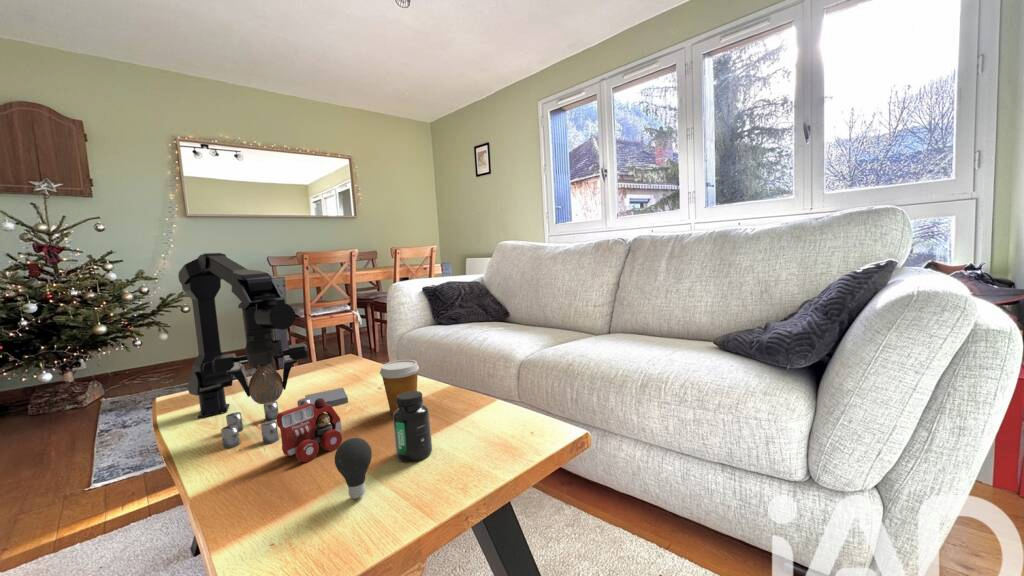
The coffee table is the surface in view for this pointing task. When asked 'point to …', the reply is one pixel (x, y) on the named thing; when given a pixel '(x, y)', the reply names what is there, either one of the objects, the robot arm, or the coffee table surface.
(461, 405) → the coffee table surface
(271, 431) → the spacer posts
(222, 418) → the coffee table surface
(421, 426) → the supplement bottle
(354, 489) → the light bulb
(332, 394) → the mat
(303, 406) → the toy fire truck
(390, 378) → the disposable coffee cup
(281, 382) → the brown textured oval
